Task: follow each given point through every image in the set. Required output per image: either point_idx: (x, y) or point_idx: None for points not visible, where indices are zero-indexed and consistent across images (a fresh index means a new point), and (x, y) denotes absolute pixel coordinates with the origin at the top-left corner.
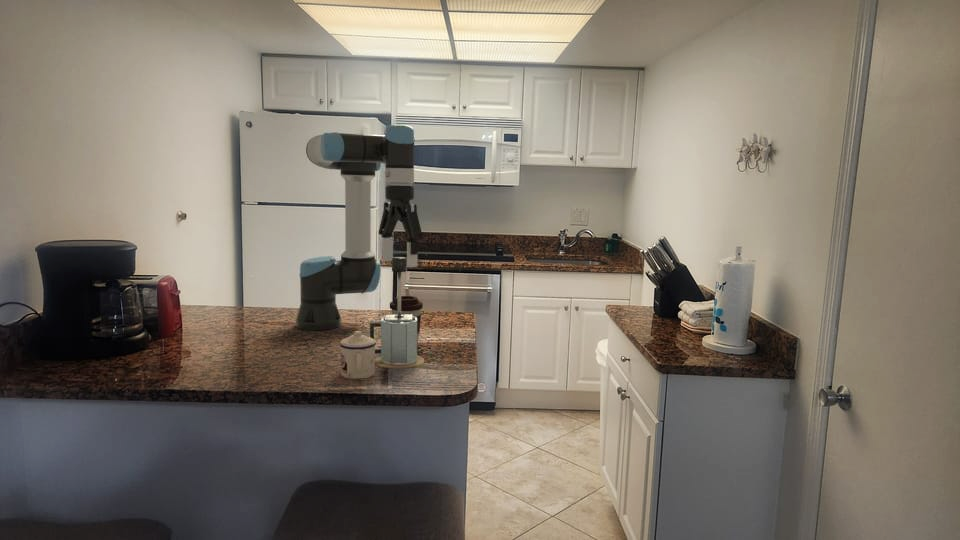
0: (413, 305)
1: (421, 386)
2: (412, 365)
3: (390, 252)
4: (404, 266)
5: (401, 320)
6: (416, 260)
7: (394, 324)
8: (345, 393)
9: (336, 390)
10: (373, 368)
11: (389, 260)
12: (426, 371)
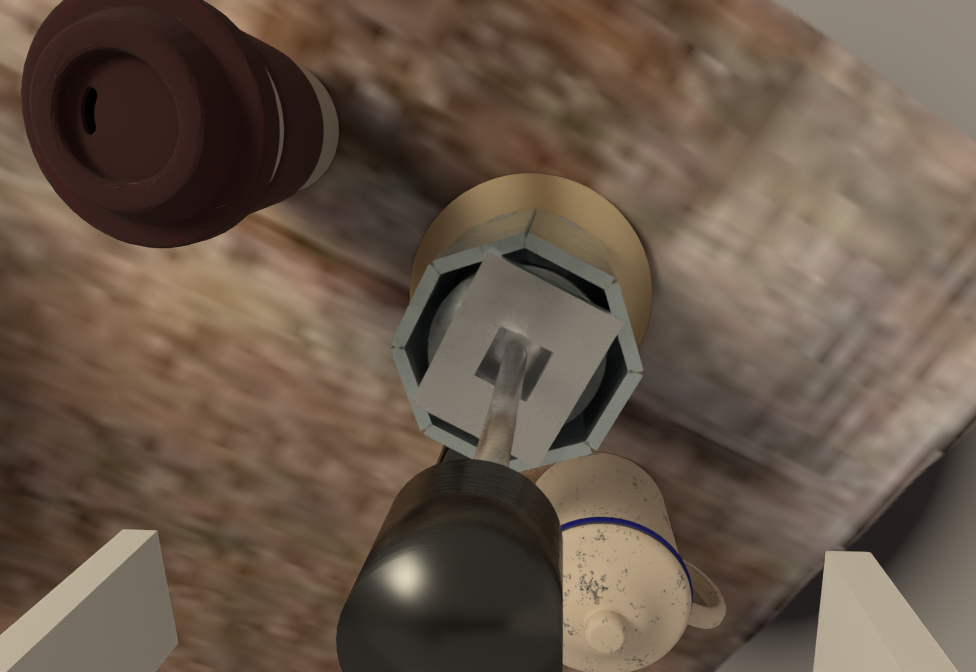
0: (249, 114)
1: (881, 369)
2: (632, 280)
3: (84, 645)
4: (557, 560)
5: (586, 383)
6: (913, 629)
7: (604, 434)
8: (762, 628)
9: (712, 638)
10: (653, 490)
11: (163, 582)
12: (718, 249)
